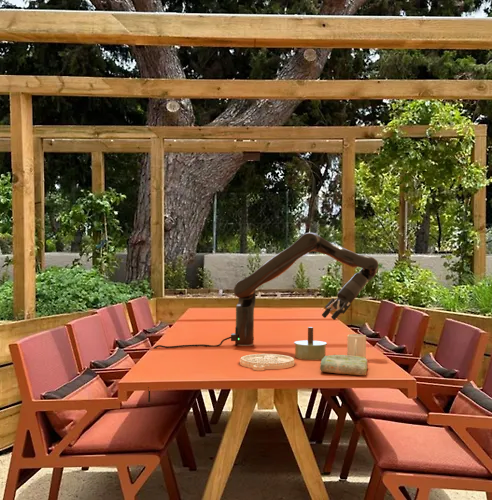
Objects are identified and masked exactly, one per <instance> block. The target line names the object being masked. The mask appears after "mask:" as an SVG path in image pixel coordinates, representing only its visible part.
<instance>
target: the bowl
mask: <svg viewBox="0 0 492 500" xmlns="http://www.w3.org/2000/svg"><path fill="white" fill-rule="evenodd" d="M326 346H327V345H325V346H300V345H295V344H294V358H296V359H299V360H309V361H315V360H316V361H318V360H322V359H323V358H324V356H327V355H326V352H327V351H326V350H327V349H326Z"/></svg>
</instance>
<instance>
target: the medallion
mask: <svg viewBox="0 0 492 500" xmlns="http://www.w3.org/2000/svg"><path fill="white" fill-rule="evenodd" d="M295 364H296V363H295V357H292V356H290V355H285V354H278V353H255V354H254V353H253V354H246V355H242V356H241V357H239V365H240V366H242V367H244V368H249V369H252V371H258V372H261V371H265V370H282V369H288V368H292V367H295Z"/></svg>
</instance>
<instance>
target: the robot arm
mask: <svg viewBox="0 0 492 500" xmlns="http://www.w3.org/2000/svg"><path fill="white" fill-rule="evenodd" d="M311 252H317V253H321V254H323V255H326V256H327V257H330V258H331V259H333V260H335V261H336V262H339V263H341V264H343V265H345V266H348V267H350V268H353V269H355V268H361V269H360V270H359V271H358V272H356V273H354V275H353V276H352V277H351V278H350V279H349V280H348V281H347V282H346V283H345V284H344V285H343V286H342V288H341V289H340V290H339V291H338V293H337V295H336V296H337V298H336V299H334V298H331V299H330V300H329V301H328V303H327V304H326V305H325V306H324V308H325V310H324V311H323V312H322V313H321V316H322V317H323V318H324V319H326V318H327V317H328V315H330V313H331V312H333V311H334V312H333V314H332V315H331V316H330V317H331V319H332V320H333V321H335V320H336V319H337V318H338V316H340V315H342V314H343V315H344V314H345V313H347V310H348V309H349V308H350V307H351V306H352V302H354V300H355V299H356V298H357V296H358V295H359V294H360V292H361V291H362V290H363V289H364V287H365V286H366V285H367V284H368V283H369V282H370V281H371V280H372V279H373V278H374V277H375V276H376V275H377V273H378V271H379V262H378V260H377V259H376V258H374V257H373V256H369V255H364V254H358V253H356V252H354V251H352V250H349V249H347V248H345V247H342V246H339V245H336V244H335V243H332V242H330V241H328V240H326V239H325V238H323V237H322V236H320V235H319V234H317V233H315V232H306V233H304V234H302V236H300V237H299V238H298V239H297V240H296V241H295V242H293V243H292V244H291V245H290V246H289V247H287V248H286V249H284V250H282V251H281V252H279V253H277V254H276V255H274V256H272V258H270V259H269V260H267V261H266V262H265V263H264V264H262V265H261V266H260V267H259V268H257V269H255V271H254V272H253V273H251V274H250V275H248V276H246V277H244V278H242V279H241V280H239V281H237V282H236V283H235V285H234V286H233V294H234V296H235V297H236V298H238V302H237V304H236V306H235V327H234V330H235V333H234V332H233V333H231V334H230V336H228V337H225V338H223V339H222V340H221V342H220V343H219V344H216V345H213V344H212V345H211V344H200V343H199V344H181V345H180V344H179V345H169V346H168V345H167V346H166V345H163V344H157V345H155V346H154V347H153V349H157V348H165V349H176V348H183V347H184V348H185V347H188V348H189V347H209V348H211V347H213V348H216V347H221V346H222V345H223V343H224V341H227V340H230V341H231V342H234V347H253V346H254V345H255V343H254V341H255V335H254V334H255V307H256V295H257V289H258V288H260V287H261V286H262V285H264V284H266V283H269V282H271V281H273V280H275V279H276V278H278V277H280V276H281V275H283V274H284V273H285V272H286V271H287V270H289V269H290V268H291V267H292V266H293V265H294V264H295V263H296V262H297V261H298V260H299V259H300V258H302V257H303V256H305V255H307V254H309V253H311ZM147 400H148V401H147V402H148V403H150V402H151V390H150V391H149V390H148V399H147Z"/></svg>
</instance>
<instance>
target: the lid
mask: <svg viewBox="0 0 492 500" xmlns="http://www.w3.org/2000/svg"><path fill="white" fill-rule="evenodd" d="M293 344H294V346H295V345H300V346H325V345H326V346H327V344H328V343H327V342H326V341H322V340H314V327H313V326H307V339H304V340H295V341H293Z"/></svg>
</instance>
